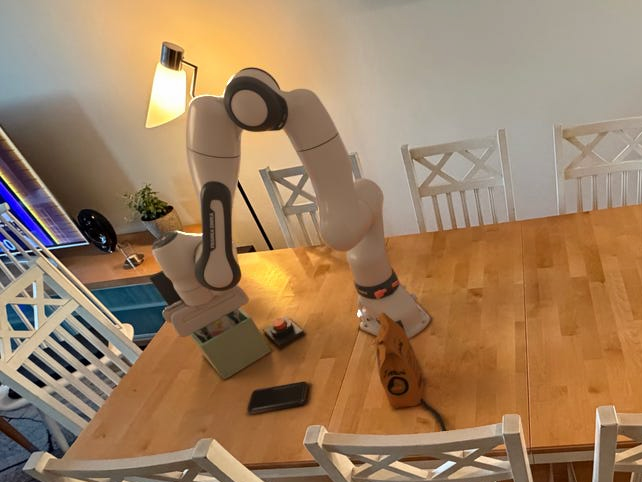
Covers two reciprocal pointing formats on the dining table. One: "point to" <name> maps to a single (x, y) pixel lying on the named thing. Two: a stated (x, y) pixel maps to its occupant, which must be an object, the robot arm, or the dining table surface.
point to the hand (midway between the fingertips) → (223, 330)
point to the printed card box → (220, 326)
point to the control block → (284, 333)
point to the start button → (279, 324)
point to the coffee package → (397, 365)
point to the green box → (233, 346)
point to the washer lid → (165, 287)
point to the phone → (278, 397)
